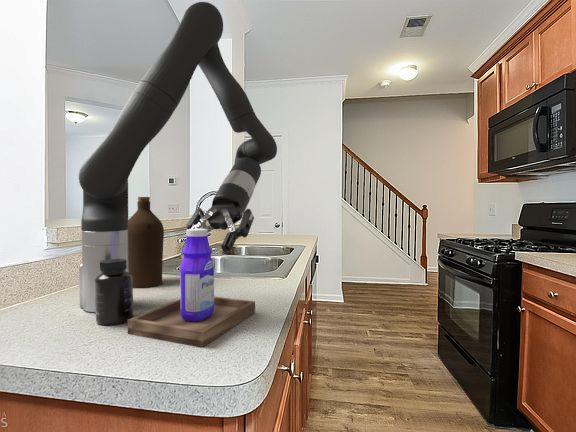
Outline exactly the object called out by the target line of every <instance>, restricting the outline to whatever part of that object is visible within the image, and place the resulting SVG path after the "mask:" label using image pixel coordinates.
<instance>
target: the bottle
mask: <svg viewBox="0 0 576 432" xmlns="http://www.w3.org/2000/svg"><path fill="white" fill-rule="evenodd" d="M185 233H186V235H185V237H186V238H185V242H186V243H185V244H184V248H183V250H182V251H181V253H182V255H183V259H182V261H181V264H180V268H179V276H180V277H179V280H180V281H179V282H180V290H179V291H180V299H181V316H182V319H184V320H186V321H193V322H196V321H202V320H205V319H206V318H208V317H210V316H211V315H212V313H213V311H214V297H215V265H214V261H213V258H212V253H213V249H212V248H211V246H210V244H209V237H208V236H209V232H208V230H207V229H202V228H199V229H187V228H186V232H185Z"/></svg>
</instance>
